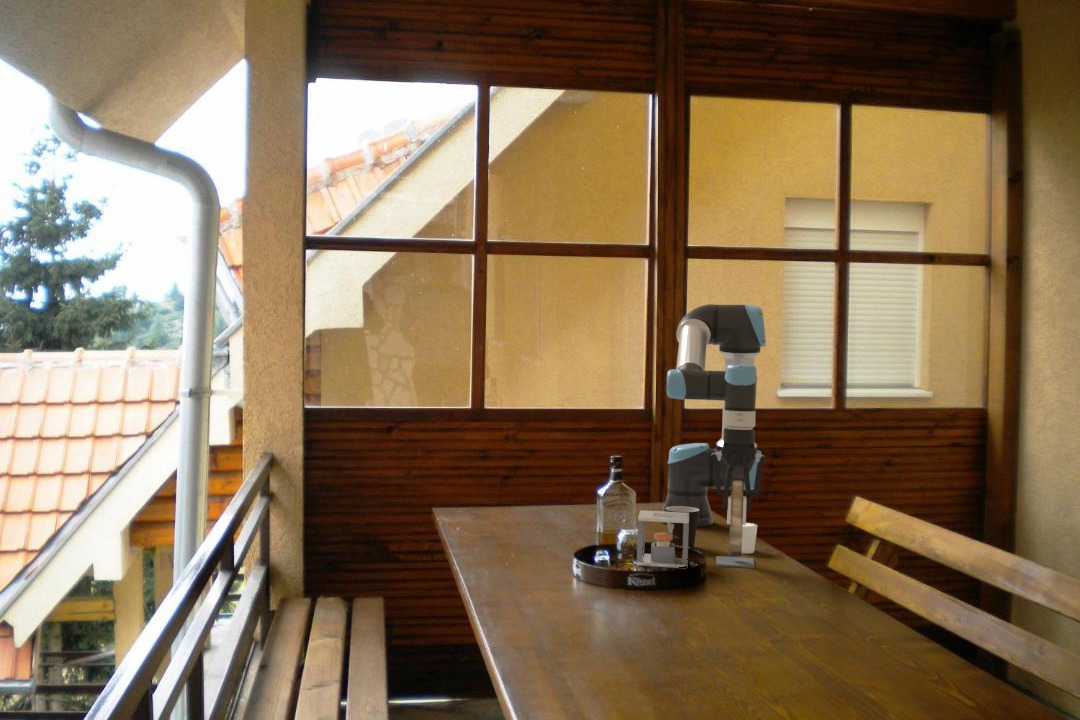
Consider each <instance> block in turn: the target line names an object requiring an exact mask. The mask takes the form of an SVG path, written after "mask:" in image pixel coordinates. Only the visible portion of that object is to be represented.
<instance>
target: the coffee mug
mask: <svg viewBox="0 0 1080 720" xmlns="http://www.w3.org/2000/svg"><path fill="white" fill-rule="evenodd" d="M666 512H683V513H689V534H688V547H690V548H693V549H694V548H695V541H696V535H697V529H698V527H697V523H698V516H699V509H697V508H693V507H685V506H672V507H667V508H666ZM666 526H667V533H670V534H672V535H673V537H672V540H671V541H670V543H673V544H675V545H679V546H683V523H672V522H667V524H666Z"/></svg>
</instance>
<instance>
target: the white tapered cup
mask: <svg viewBox="0 0 1080 720" xmlns="http://www.w3.org/2000/svg"><path fill="white" fill-rule="evenodd" d="M757 531H758V524H756V523H753V522H752V523H751V522H746V525H743V527H742V554H753V553H755V548H756V547H755V546H756V540H757Z"/></svg>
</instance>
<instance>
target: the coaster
mask: <svg viewBox="0 0 1080 720" xmlns="http://www.w3.org/2000/svg"><path fill="white" fill-rule="evenodd" d="M715 558H716V559H715V561H716V567H723V568H724V567H725V568H726V567H727V568H743V569H755V568H756V566H755V562H754V561H755V560H754V558H753V557H741V556H722V555H720V556H719V555H716V557H715Z"/></svg>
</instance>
